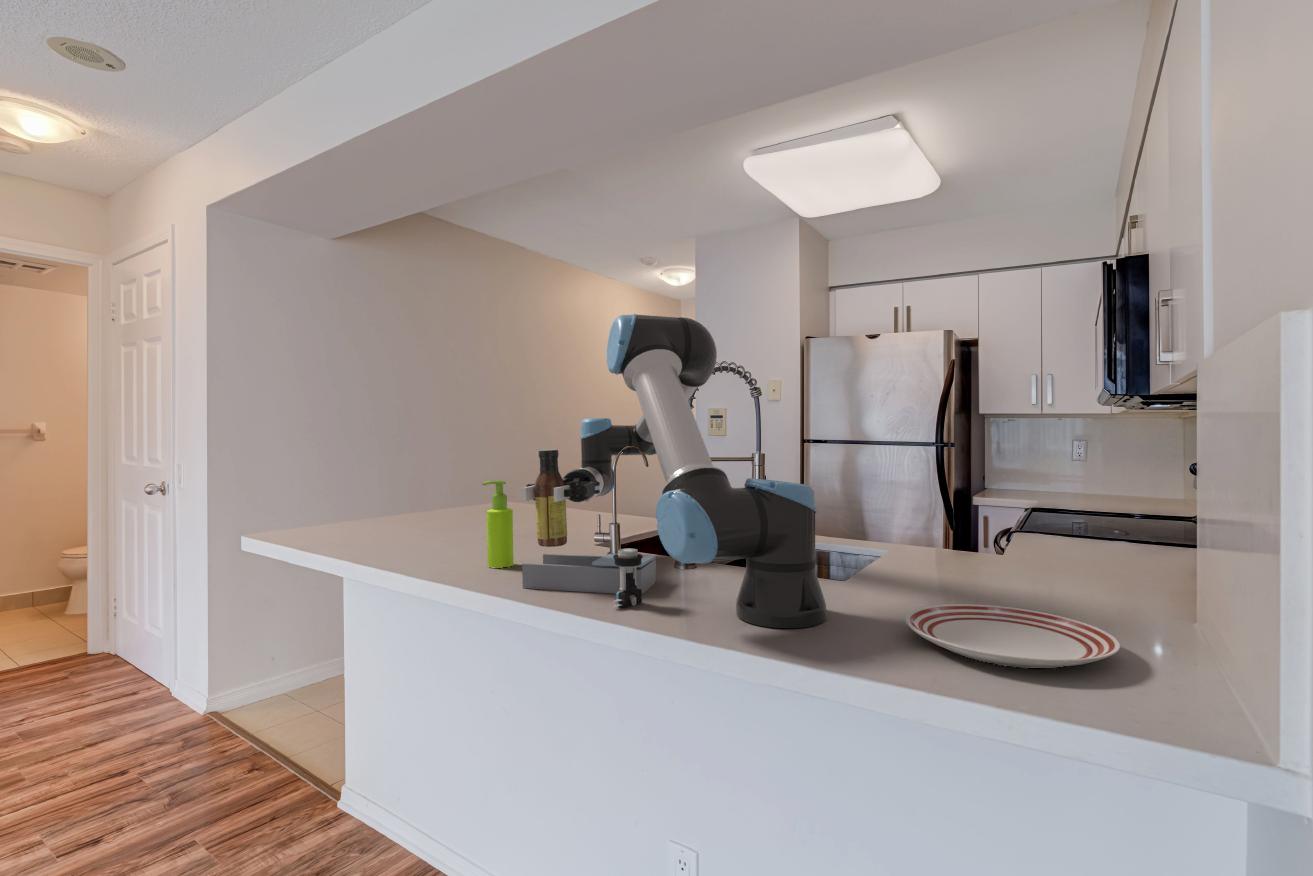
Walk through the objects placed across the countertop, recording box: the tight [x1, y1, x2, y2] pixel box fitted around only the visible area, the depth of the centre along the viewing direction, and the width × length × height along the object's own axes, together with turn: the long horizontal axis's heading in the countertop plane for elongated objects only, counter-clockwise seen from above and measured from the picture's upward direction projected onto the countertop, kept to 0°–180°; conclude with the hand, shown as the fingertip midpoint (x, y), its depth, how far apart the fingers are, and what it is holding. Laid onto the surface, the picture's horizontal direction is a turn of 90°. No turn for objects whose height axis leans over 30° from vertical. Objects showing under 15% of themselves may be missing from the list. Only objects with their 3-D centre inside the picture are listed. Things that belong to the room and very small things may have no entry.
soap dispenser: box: [480, 480, 514, 569], centre depth 154 cm, size 6×7×20 cm
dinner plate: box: [905, 603, 1121, 669], centre depth 97 cm, size 28×27×3 cm
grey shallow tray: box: [521, 553, 657, 595], centre depth 135 cm, size 25×11×5 cm, turn 75°
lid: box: [592, 553, 656, 567], centre depth 133 cm, size 10×11×1 cm
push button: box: [612, 547, 644, 609], centre depth 120 cm, size 7×5×10 cm
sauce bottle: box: [534, 449, 568, 548], centre depth 137 cm, size 7×6×20 cm
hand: (539, 494), depth 132 cm, fingers closed on sauce bottle, 6 cm apart
